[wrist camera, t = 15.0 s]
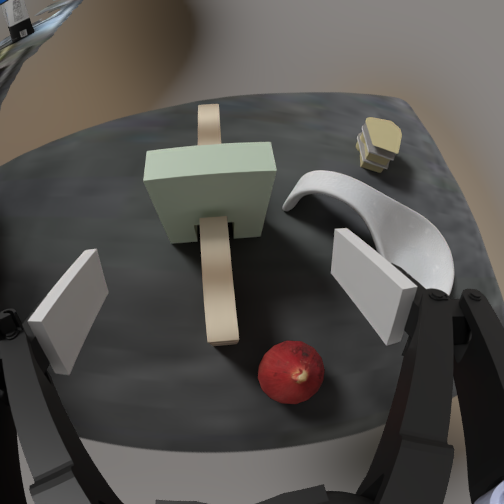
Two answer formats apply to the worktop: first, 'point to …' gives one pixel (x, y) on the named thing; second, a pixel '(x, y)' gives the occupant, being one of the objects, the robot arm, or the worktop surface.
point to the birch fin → (216, 253)
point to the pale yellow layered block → (378, 143)
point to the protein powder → (17, 18)
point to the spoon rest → (387, 227)
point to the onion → (291, 372)
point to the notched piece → (211, 187)
